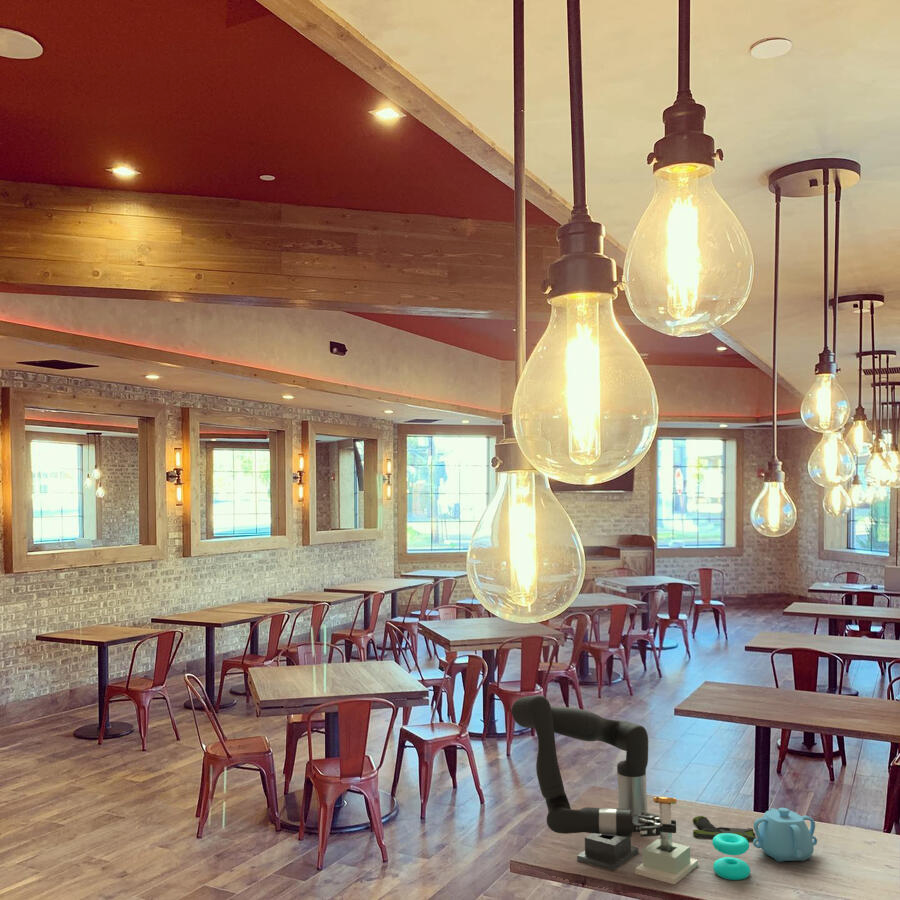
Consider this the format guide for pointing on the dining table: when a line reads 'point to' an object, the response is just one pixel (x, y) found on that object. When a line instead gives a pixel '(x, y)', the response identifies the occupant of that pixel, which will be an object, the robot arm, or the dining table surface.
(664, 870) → the pale green socket base
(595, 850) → the block
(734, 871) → the donuts
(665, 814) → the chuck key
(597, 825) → the robot arm
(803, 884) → the dining table surface
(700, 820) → the gun
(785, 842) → the decorative pot
